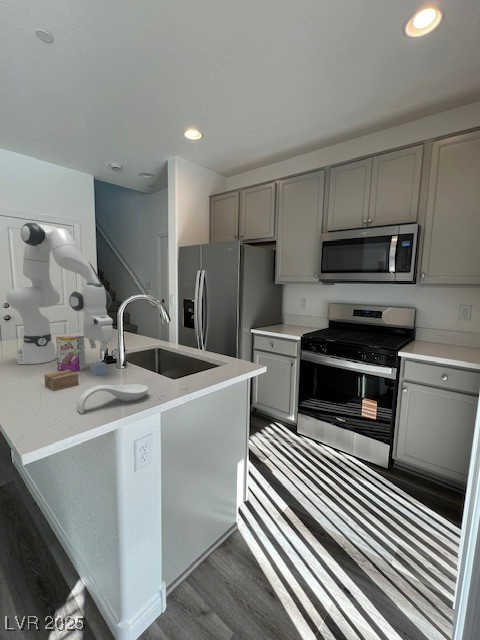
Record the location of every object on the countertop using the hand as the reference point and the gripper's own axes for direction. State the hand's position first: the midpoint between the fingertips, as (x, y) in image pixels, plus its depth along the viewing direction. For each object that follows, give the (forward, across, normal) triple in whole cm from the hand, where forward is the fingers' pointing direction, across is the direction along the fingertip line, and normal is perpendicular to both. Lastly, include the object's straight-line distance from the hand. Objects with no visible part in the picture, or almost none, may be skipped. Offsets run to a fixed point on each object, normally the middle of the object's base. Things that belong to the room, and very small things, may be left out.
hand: (98, 349), depth 134 cm
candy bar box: (+11, -17, -5) cm, 21 cm away
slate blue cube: (+12, -1, 0) cm, 12 cm away
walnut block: (+12, +3, -17) cm, 21 cm away
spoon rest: (+12, +36, -13) cm, 40 cm away
